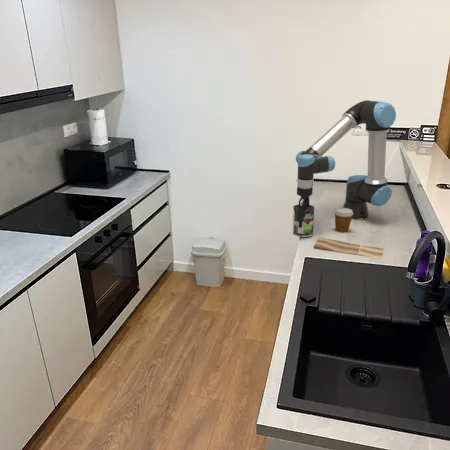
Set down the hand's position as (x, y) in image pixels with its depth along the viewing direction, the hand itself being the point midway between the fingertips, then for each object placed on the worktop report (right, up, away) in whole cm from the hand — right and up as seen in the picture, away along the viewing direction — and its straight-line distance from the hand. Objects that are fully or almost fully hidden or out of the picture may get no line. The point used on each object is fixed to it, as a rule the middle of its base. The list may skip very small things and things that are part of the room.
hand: (302, 229), depth 216 cm
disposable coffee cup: (+22, -2, +7) cm, 23 cm away
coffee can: (0, -2, +1) cm, 3 cm away
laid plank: (+28, -11, -19) cm, 36 cm away
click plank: (+14, -9, -13) cm, 21 cm away
